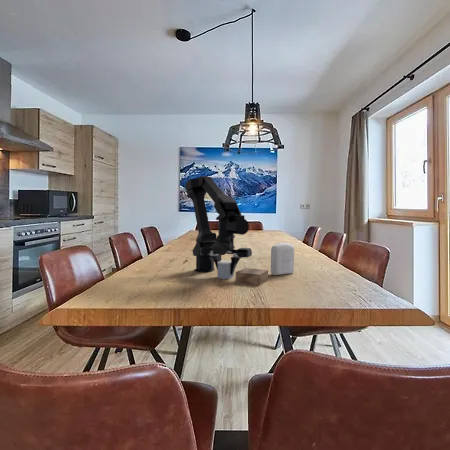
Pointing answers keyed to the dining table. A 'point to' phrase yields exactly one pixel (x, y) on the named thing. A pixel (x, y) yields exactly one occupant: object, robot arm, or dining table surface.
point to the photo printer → (282, 259)
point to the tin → (224, 269)
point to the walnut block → (252, 276)
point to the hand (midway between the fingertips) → (225, 274)
